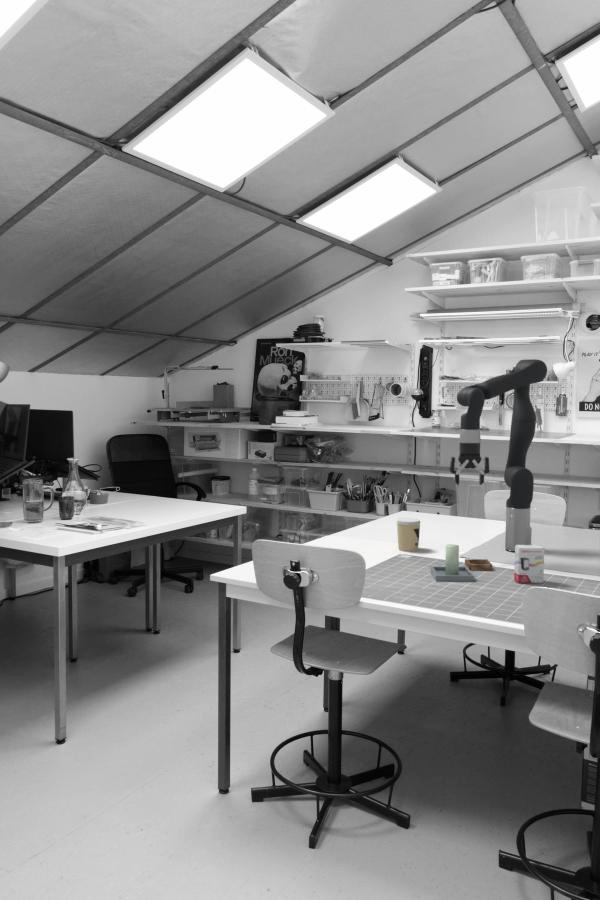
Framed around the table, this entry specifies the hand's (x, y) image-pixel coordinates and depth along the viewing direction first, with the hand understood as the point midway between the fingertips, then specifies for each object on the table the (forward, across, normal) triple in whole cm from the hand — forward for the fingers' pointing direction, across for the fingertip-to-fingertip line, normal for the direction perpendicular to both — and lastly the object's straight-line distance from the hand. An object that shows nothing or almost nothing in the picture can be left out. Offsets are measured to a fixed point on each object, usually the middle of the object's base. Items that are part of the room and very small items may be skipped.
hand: (469, 484), depth 265 cm
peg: (+28, +10, +26) cm, 40 cm away
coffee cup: (+28, +21, -14) cm, 38 cm away
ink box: (+28, -14, +32) cm, 45 cm away
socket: (+28, -1, +14) cm, 31 cm away
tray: (+28, +10, +26) cm, 40 cm away
